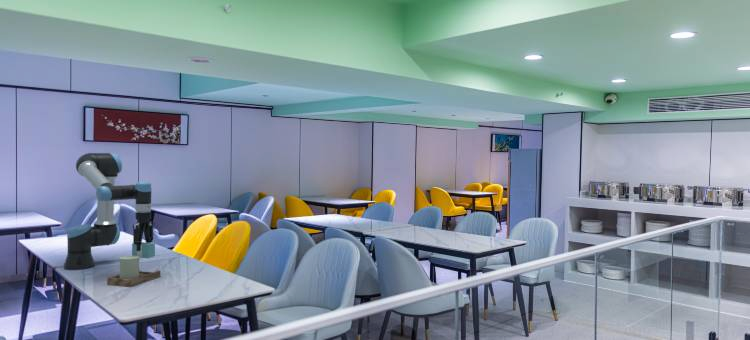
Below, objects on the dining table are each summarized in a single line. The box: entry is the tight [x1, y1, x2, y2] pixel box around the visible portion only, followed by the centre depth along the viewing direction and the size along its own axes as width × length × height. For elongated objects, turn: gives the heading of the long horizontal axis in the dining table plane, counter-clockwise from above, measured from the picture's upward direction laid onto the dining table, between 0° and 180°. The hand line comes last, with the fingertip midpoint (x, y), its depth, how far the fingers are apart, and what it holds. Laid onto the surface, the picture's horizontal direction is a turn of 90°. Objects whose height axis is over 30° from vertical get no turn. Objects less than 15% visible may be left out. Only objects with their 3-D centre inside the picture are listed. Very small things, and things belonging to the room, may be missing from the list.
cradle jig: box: [106, 270, 161, 288], centre depth 269 cm, size 14×22×3 cm, turn 166°
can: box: [118, 255, 140, 280], centre depth 265 cm, size 9×9×12 cm
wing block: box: [131, 241, 156, 259], centre depth 275 cm, size 10×5×7 cm, turn 75°
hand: (143, 255), depth 275 cm, fingers closed on wing block, 5 cm apart
